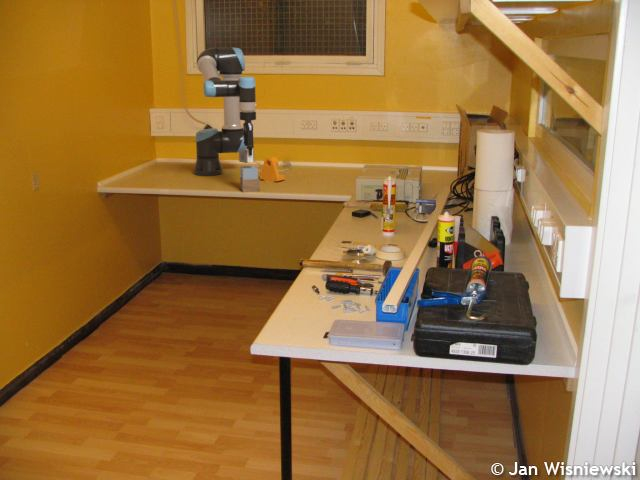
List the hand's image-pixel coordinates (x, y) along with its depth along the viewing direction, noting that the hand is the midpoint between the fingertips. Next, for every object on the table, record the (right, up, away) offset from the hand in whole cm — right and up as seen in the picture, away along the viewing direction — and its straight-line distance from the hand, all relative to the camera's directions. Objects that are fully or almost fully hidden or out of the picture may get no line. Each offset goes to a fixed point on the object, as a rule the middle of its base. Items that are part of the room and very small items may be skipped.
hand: (249, 160), depth 317 cm
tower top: (0, -8, +2) cm, 8 cm away
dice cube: (-1, -1, -1) cm, 1 cm away
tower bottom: (0, -14, +4) cm, 14 cm away
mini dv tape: (+77, -27, -39) cm, 90 cm away
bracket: (+9, -7, +26) cm, 29 cm away
